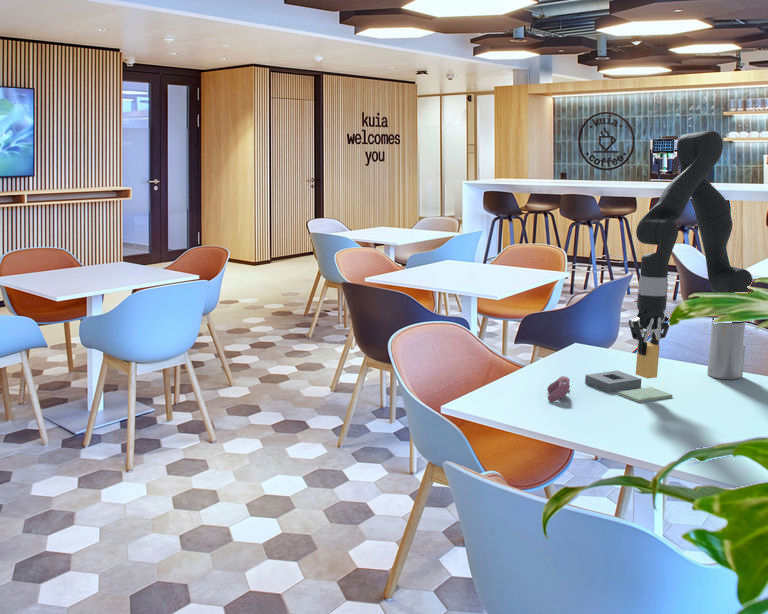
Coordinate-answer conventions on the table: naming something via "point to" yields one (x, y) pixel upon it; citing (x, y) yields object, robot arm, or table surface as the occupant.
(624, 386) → the graphite dock
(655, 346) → the amber plug
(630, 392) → the sage mat
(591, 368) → the table surface
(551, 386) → the pink toy
